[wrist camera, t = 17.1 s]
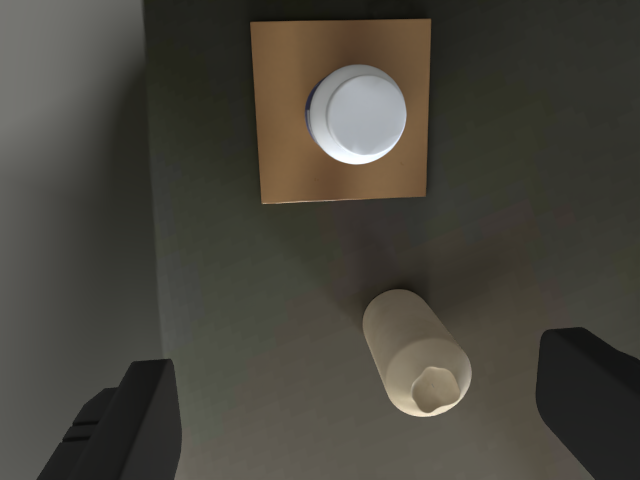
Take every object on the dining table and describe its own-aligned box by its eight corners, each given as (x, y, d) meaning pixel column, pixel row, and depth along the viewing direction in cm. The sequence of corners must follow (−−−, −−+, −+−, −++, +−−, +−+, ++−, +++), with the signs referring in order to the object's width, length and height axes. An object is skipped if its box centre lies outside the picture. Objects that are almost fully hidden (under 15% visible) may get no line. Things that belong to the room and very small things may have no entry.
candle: (441, 301, 38) (497, 366, 29) (411, 360, 39) (455, 442, 30) (379, 278, 37) (415, 337, 28) (350, 339, 38) (375, 416, 29)
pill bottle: (363, 59, 32) (399, 39, 23) (392, 133, 34) (436, 144, 24) (290, 92, 32) (296, 86, 23) (322, 165, 34) (339, 188, 25)
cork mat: (261, 202, 35) (261, 203, 34) (250, 22, 32) (250, 21, 31) (424, 195, 36) (426, 196, 35) (429, 19, 32) (431, 18, 32)
